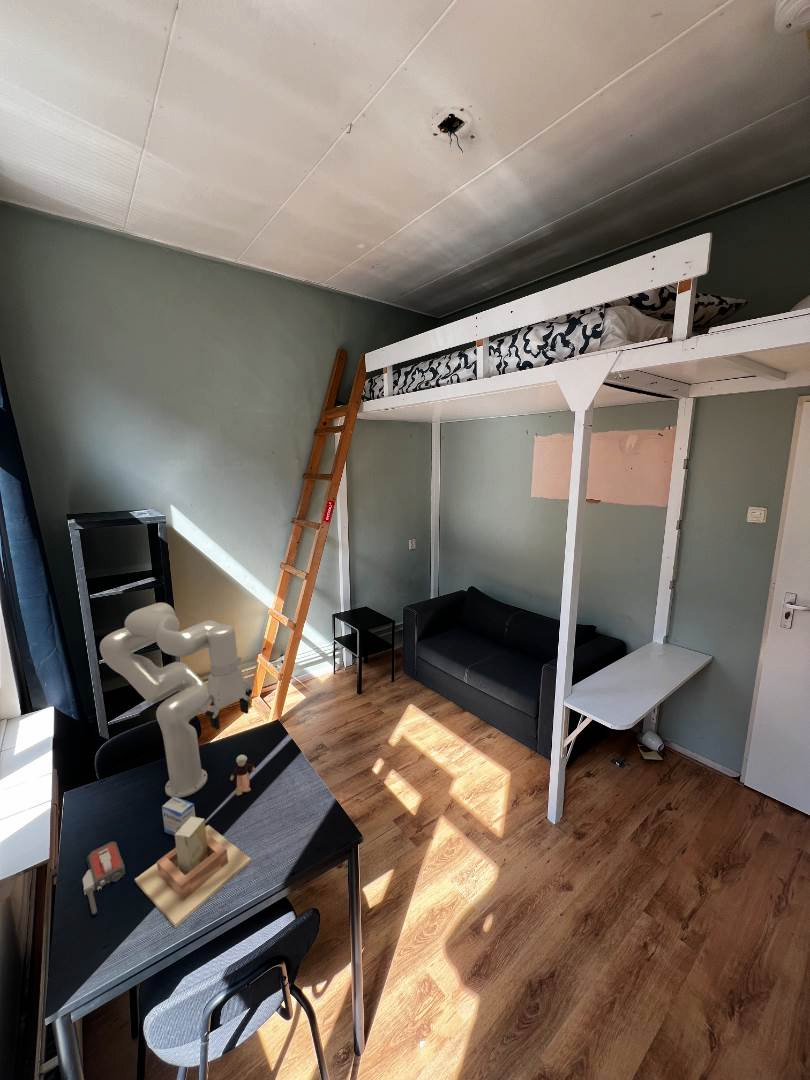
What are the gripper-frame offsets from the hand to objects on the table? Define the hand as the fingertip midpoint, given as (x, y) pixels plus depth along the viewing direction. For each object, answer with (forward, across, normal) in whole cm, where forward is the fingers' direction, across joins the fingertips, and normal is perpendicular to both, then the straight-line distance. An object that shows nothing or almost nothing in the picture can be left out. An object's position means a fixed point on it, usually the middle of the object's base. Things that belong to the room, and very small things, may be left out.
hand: (230, 719), depth 131 cm
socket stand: (+28, +21, +11) cm, 37 cm away
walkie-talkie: (+29, +35, -7) cm, 46 cm away
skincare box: (+28, +21, +11) cm, 36 cm away
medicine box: (+29, +16, -5) cm, 33 cm away
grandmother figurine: (+28, -4, -3) cm, 29 cm away
